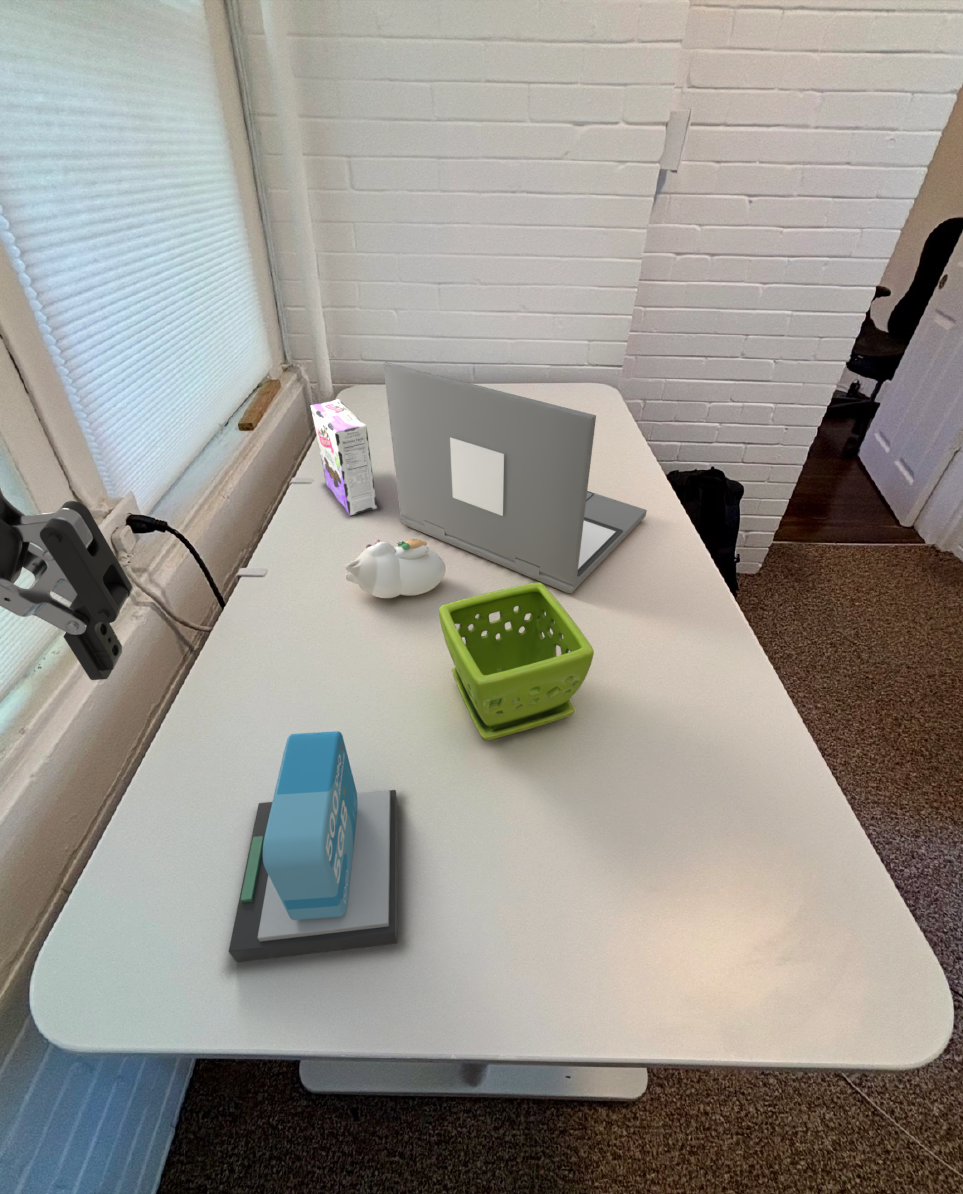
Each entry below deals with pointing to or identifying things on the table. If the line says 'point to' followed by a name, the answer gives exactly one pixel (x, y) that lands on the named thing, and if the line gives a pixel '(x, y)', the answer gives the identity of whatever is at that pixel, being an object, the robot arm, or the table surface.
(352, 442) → the candy box
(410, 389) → the laptop
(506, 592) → the flower pot
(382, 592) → the cat figurine
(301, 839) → the blue rounded block
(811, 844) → the table surface
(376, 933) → the scale
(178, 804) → the table surface
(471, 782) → the table surface
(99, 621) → the robot arm
